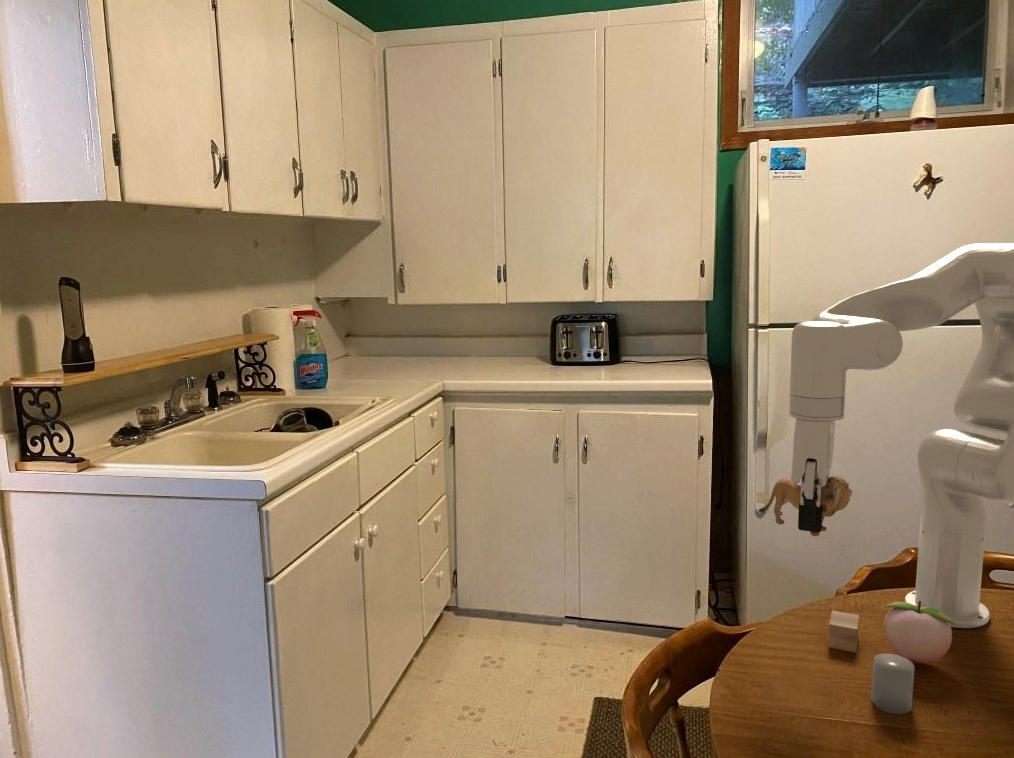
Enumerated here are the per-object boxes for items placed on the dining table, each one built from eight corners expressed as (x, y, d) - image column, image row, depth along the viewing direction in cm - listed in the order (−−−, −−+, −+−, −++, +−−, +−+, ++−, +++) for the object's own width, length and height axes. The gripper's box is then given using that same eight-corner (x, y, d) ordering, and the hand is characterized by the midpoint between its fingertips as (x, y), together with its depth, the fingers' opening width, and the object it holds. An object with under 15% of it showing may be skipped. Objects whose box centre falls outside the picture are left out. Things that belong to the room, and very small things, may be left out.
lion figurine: (856, 534, 114) (859, 475, 113) (838, 543, 111) (841, 483, 109) (766, 510, 125) (768, 457, 124) (748, 518, 122) (749, 463, 120)
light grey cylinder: (871, 689, 110) (874, 650, 109) (911, 698, 108) (914, 658, 107) (870, 708, 105) (873, 668, 104) (911, 717, 103) (914, 676, 102)
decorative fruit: (881, 671, 114) (885, 608, 113) (880, 645, 122) (884, 585, 120) (954, 685, 110) (959, 619, 109) (949, 657, 118) (953, 595, 116)
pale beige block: (831, 633, 126) (832, 610, 125) (858, 638, 124) (859, 615, 123) (828, 647, 122) (829, 624, 121) (856, 653, 120) (857, 629, 119)
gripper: (796, 393, 122) (792, 502, 126) (781, 416, 107) (777, 539, 110) (848, 396, 119) (843, 508, 122) (840, 420, 104) (834, 547, 107)
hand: (812, 521), depth 116 cm, fingers closed on lion figurine, 6 cm apart
